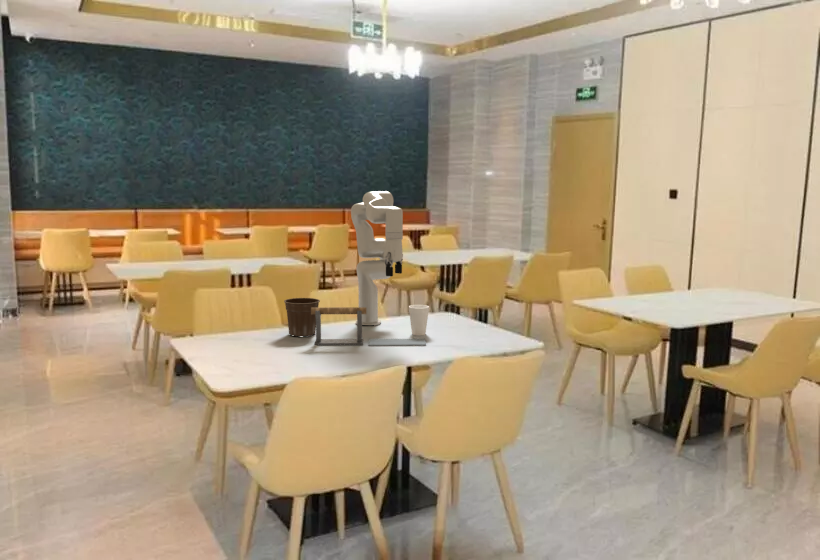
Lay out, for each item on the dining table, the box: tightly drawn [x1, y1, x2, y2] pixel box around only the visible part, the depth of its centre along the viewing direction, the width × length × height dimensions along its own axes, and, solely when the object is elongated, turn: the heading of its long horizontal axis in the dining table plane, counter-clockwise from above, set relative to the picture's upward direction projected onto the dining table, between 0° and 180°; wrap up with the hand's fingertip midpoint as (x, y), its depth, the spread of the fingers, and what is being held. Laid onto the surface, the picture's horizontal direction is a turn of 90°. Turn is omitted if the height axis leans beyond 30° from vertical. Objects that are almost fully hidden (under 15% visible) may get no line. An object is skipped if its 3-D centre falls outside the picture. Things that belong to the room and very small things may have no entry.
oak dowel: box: [311, 306, 366, 315], centre depth 312 cm, size 24×3×3 cm, turn 92°
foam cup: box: [408, 304, 430, 336], centre depth 333 cm, size 10×9×13 cm
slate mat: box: [368, 338, 427, 347], centre depth 315 cm, size 11×25×1 cm, turn 92°
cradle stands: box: [314, 311, 364, 346], centre depth 313 cm, size 8×21×15 cm, turn 92°
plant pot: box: [284, 297, 321, 337], centre depth 330 cm, size 16×16×16 cm
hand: (393, 274), depth 315 cm, fingers open, 9 cm apart
